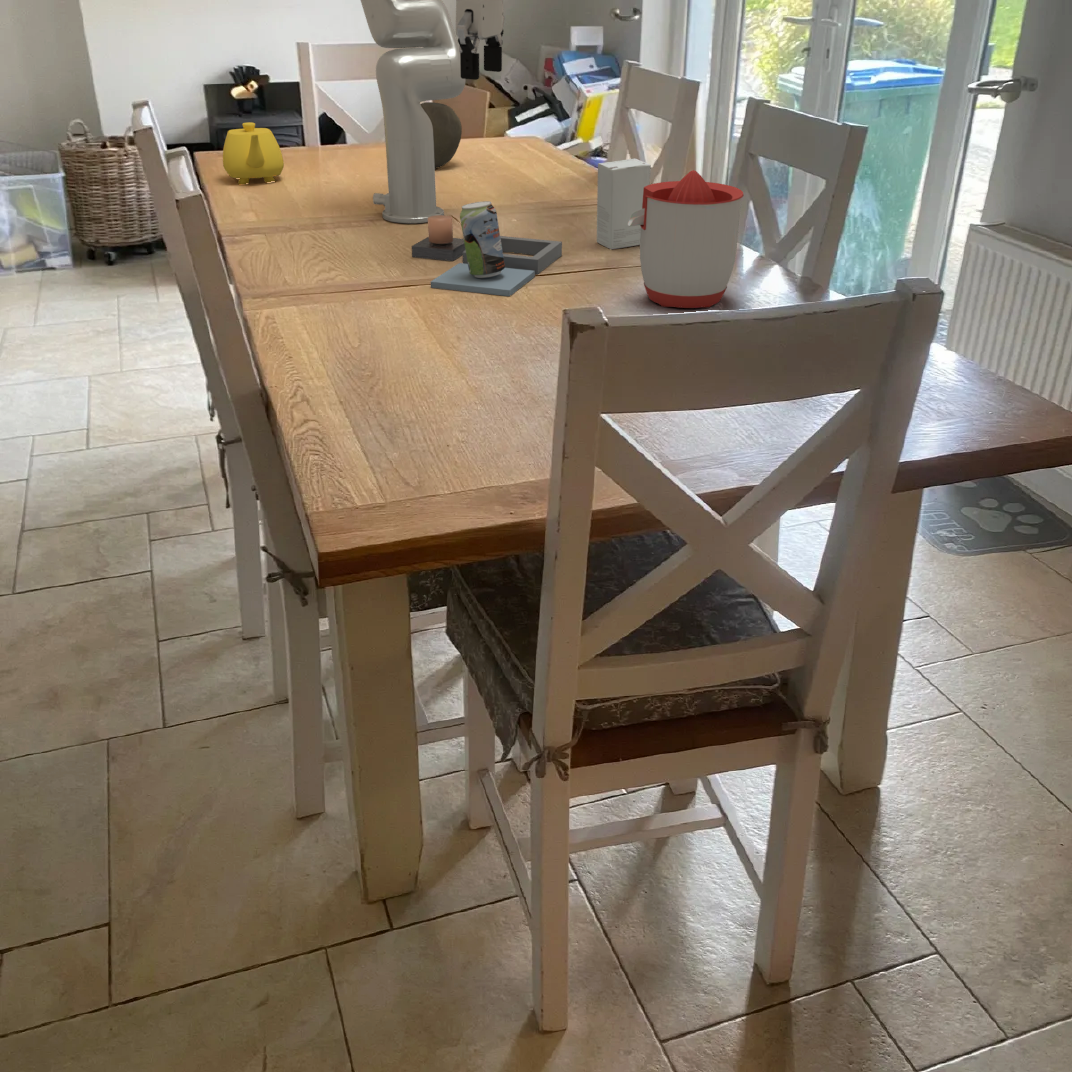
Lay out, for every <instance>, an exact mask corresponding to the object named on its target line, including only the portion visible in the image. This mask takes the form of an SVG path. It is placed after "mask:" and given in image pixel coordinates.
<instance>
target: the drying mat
mask: <svg viewBox="0 0 1072 1072" xmlns="http://www.w3.org/2000/svg"><path fill="white" fill-rule="evenodd" d="M535 277H536V274H535V271H532V270H522V269H512V268H504V269H503V270H502V271H501V273H500V274H498V275H496V276H492V277H486V278H477V277H475V276H474V275H472V274H470V273H469V267H468V264H464V263H463V262H459V263H457V264H455V265H454V266H452V267H451V268H449V269H447V270H446V271H445V272H443V273H442V274H440V275H439V276H437V277H435V278H434V279H432V280H431V281H430V288H432V289H441V290H449V291H458V292H459V291H460V292H468V293H476V294H483V295H484V294H485V295H496V296H503V297H511V296H512V295H514V294H515V293H516V292H518V291H519V290H520V289H521V288H522V287H523V285H524V286H525V285H526V284H527V283H528V282H530V281H532V279H534V278H535ZM518 289H519V290H518ZM510 295H511V296H510Z"/></svg>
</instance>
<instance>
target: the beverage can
mask: <svg viewBox="0 0 1072 1072" xmlns="http://www.w3.org/2000/svg"><path fill="white" fill-rule="evenodd" d="M497 214H498V212H497V209H496V208H495V207H494V206H493V204H492V201H486V200H485V201H475V202H470V203H468V204H464V205H462V206H461V211H460V213H459V220H460V226H461V232H462V237H463V238H462V239H464V244H465V250H466V256H467V261H468V267H469V273H470V274H472V275H474V276H475V277H477V278H486V277H492V276H496V275H498V274H500V273H501V271H502V270H503V269H504V268H505V264H504V257H503V254H504V252H503V251H502V245H501V238H500V236H501V233H500V227H499V219H498V215H497Z"/></svg>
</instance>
